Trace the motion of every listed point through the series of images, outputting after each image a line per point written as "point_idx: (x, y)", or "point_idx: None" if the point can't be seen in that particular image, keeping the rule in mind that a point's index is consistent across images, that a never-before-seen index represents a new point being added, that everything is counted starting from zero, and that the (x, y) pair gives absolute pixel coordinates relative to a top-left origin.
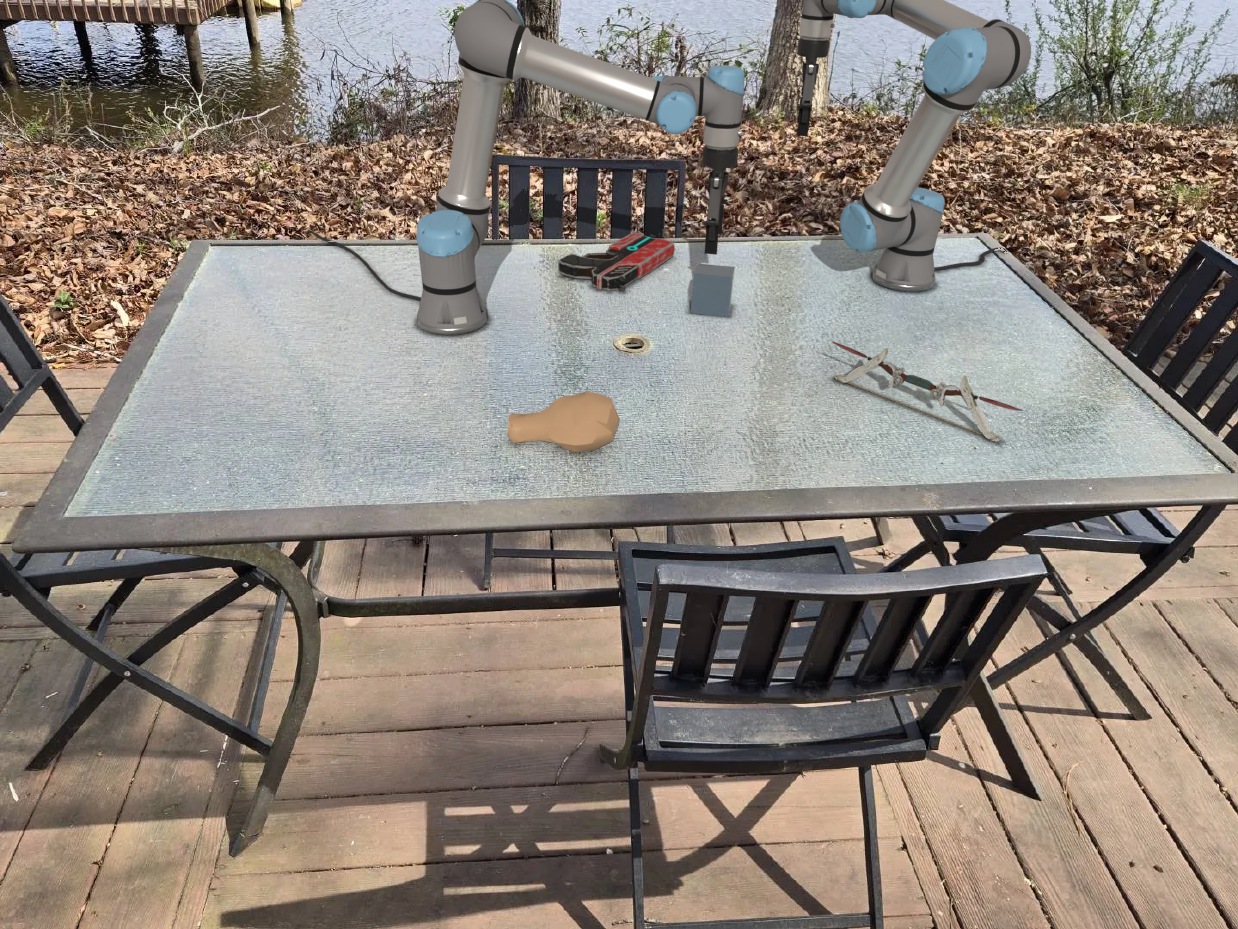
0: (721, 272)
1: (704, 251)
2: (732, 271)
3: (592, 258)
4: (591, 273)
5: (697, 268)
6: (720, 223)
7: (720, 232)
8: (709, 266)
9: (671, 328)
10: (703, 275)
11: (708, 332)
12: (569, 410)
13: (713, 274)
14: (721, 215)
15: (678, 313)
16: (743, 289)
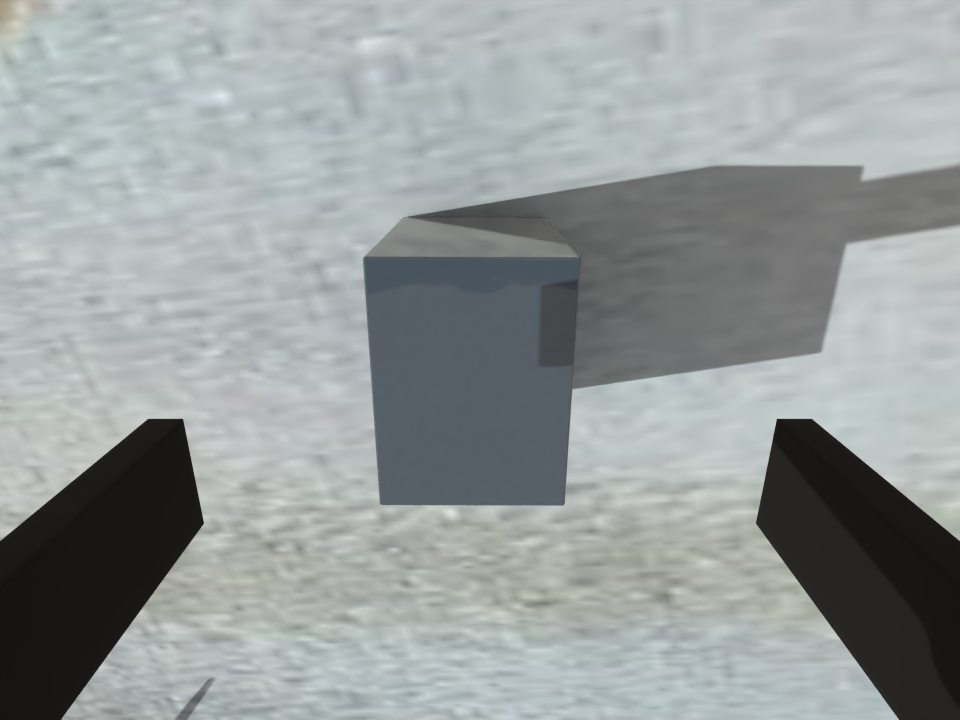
0: (441, 438)
1: (138, 428)
2: (477, 498)
3: None
4: None
5: (475, 276)
6: (817, 584)
7: (762, 524)
8: (533, 355)
9: (190, 140)
10: (369, 327)
11: (216, 322)
12: None
13: (391, 392)
14: (882, 670)
15: (384, 154)
16: (740, 435)
